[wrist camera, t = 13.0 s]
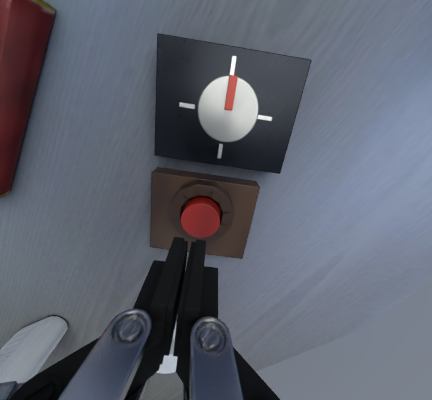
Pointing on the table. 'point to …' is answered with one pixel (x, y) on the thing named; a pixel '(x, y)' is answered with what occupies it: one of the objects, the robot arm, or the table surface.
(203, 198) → the button
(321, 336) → the table surface
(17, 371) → the photo printer
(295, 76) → the control panel
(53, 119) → the table surface
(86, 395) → the robot arm
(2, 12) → the hardcover book
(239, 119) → the timer knob
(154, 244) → the button block
